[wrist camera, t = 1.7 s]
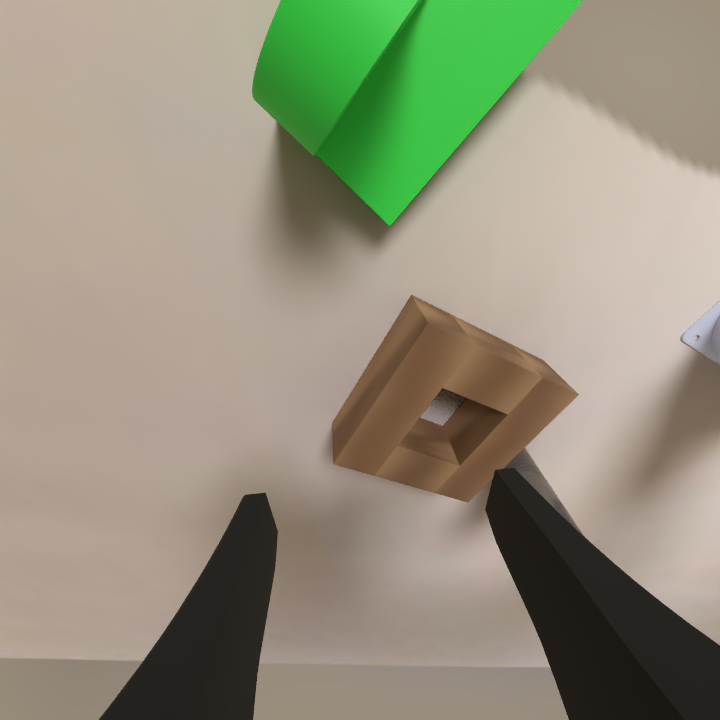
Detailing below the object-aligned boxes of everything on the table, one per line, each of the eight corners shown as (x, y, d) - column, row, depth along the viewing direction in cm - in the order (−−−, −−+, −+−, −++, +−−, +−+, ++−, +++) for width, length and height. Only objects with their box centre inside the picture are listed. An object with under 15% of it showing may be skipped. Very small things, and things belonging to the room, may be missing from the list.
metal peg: (535, 451, 26) (622, 577, 18) (509, 475, 27) (581, 602, 19) (506, 440, 25) (585, 568, 17) (480, 465, 26) (544, 595, 18)
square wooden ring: (543, 360, 21) (578, 394, 18) (451, 461, 26) (468, 502, 23) (411, 295, 18) (428, 323, 15) (332, 422, 22) (333, 464, 20)
